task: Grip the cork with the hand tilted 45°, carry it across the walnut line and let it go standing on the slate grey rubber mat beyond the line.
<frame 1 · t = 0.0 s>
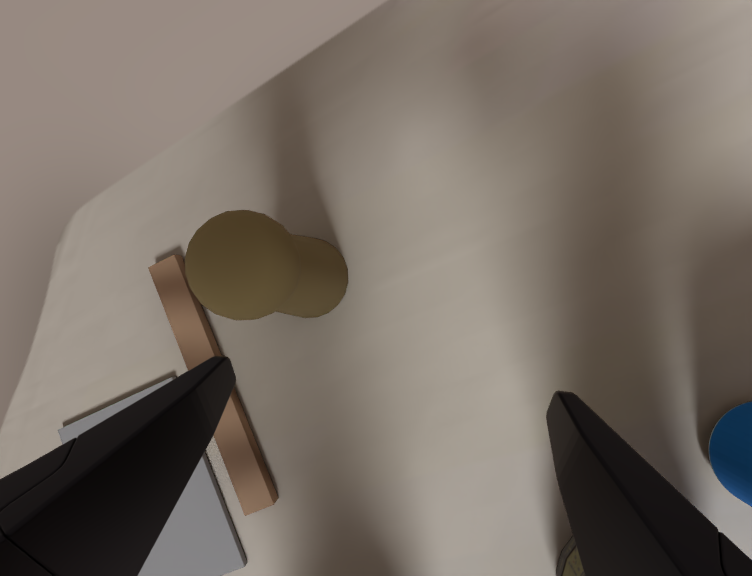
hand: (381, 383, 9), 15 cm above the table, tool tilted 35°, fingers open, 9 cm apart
walnut line: (215, 378, 26), on the table
cork: (309, 277, 25), on the table
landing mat: (150, 492, 26), on the table
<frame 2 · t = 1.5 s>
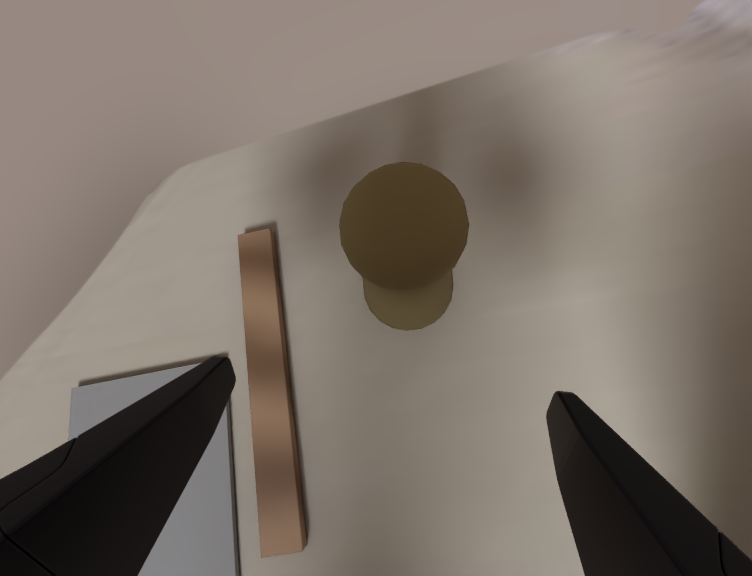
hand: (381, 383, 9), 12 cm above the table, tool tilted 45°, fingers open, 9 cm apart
walnut line: (271, 373, 22), on the table
cork: (407, 286, 23), on the table
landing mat: (150, 494, 21), on the table
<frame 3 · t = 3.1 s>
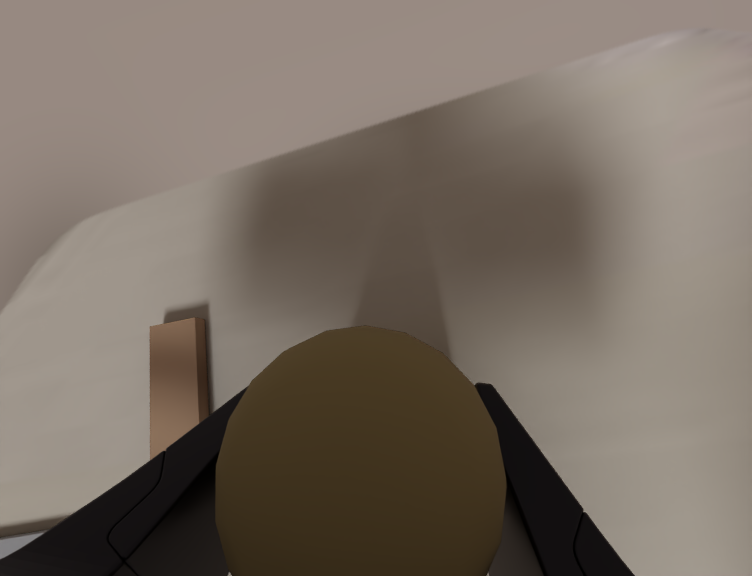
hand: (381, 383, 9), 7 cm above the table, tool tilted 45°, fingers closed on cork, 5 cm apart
walnut line: (189, 543, 15), on the table
cork: (392, 409, 16), on the table, touching gripper
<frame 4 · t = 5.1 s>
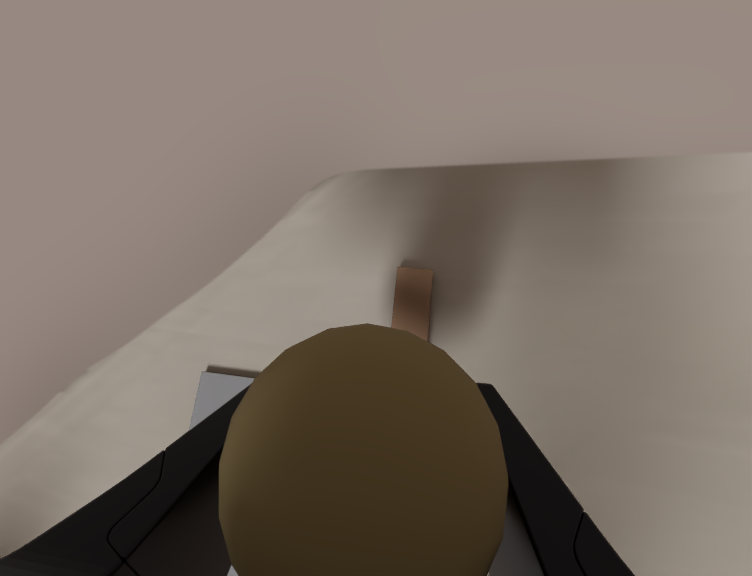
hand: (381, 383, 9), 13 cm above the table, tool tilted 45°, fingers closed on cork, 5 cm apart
walnut line: (401, 422, 21), on the table
cork: (395, 408, 16), point 6 cm above the table, touching gripper
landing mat: (258, 502, 21), on the table
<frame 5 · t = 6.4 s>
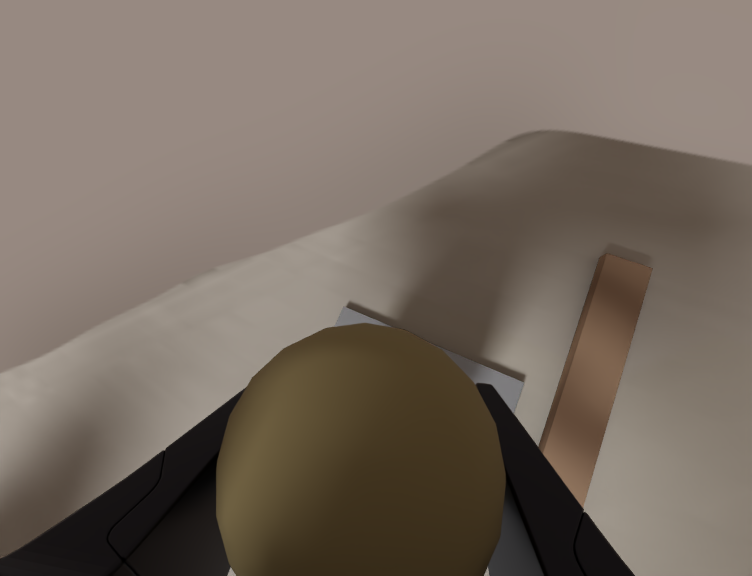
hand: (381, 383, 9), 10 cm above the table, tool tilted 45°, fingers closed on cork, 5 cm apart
walnut line: (568, 432, 18), on the table
cork: (394, 407, 16), point 4 cm above the table, touching gripper
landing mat: (377, 469, 18), on the table
when the fingers open (8 cm above the table, at t = 7.3 s): cork drops 1 cm, resting on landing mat.
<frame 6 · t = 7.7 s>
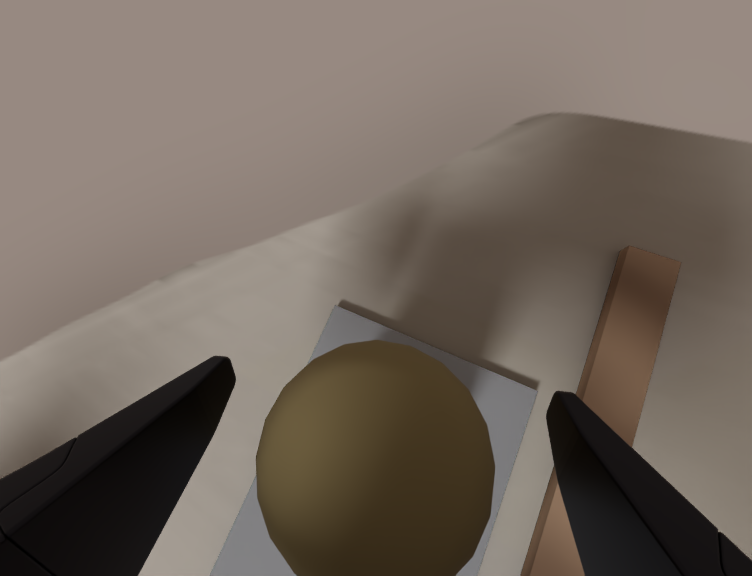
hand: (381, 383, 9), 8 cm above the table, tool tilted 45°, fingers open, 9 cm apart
walnut line: (589, 448, 16), on the table
cork: (396, 410, 17), resting on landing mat
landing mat: (372, 489, 16), on the table
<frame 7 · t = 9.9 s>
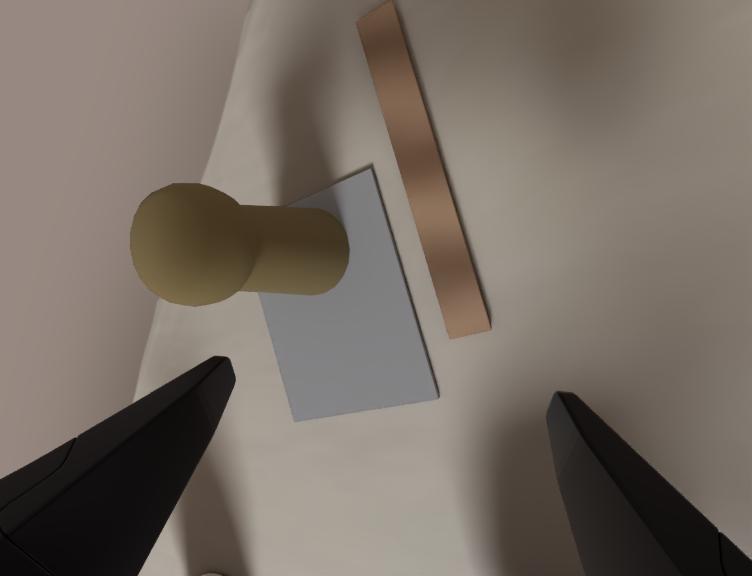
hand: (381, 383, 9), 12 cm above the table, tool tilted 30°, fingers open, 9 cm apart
walnut line: (423, 173, 20), on the table
cork: (311, 252, 23), resting on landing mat
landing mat: (332, 304, 23), on the table
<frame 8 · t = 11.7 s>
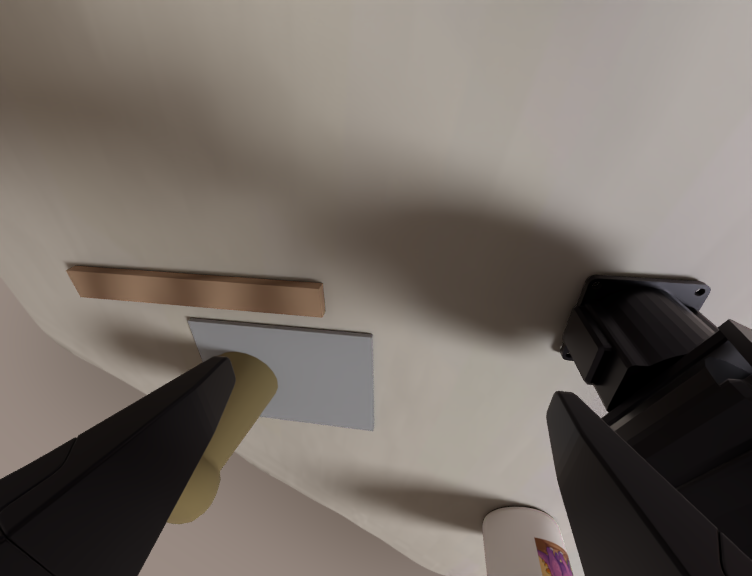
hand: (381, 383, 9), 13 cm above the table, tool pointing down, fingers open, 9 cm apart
walnut line: (197, 287, 25), on the table
cork: (246, 376, 30), resting on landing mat
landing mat: (288, 376, 29), on the table
milk bottle: (518, 521, 36), on the table
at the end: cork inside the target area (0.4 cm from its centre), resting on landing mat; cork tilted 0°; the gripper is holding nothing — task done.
